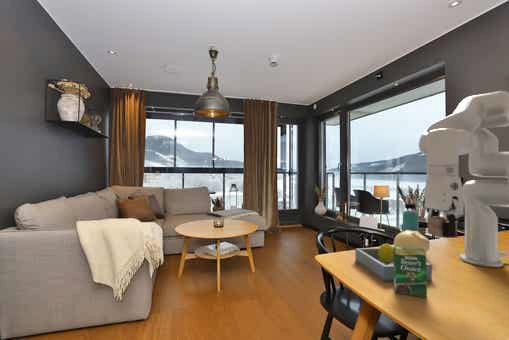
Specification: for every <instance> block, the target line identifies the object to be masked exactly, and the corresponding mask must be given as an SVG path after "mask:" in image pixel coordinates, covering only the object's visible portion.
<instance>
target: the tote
mask: <svg viewBox="0 0 509 340" xmlns="http://www.w3.org/2000/svg"><path fill="white" fill-rule="evenodd" d="M379 248H380V247H362V248H361V247H359V248H356V247H355V255H354V256H355V259H354V260H355V263H357V264H358V265H360V266H361V267H362V268H364V269H366V271H368V272H369V273H371V274H372V275H373V276H374V277H376V278H377V279H379V280H380V281H381V282H383V283H394V261H393V262H392V263H390V264H388V265H386V264H385V263H383V262H382V261H381V260H380V258H379V255H378V251H379ZM432 271H433V264H431V263H429V262H427V261H426V275H427V281H432V279H433V272H432Z"/></svg>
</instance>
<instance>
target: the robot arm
mask: <svg viewBox="0 0 509 340" xmlns="http://www.w3.org/2000/svg"><path fill="white" fill-rule="evenodd" d="M501 127H509V92H508V91H505V90H498V91H493V92H488V93H482V94H475V95H470V96H468V97H466V98H464V99H463V100H461V102H459V103H458V105H457V107H456V109H455V110H454V111H453V112H452V114H450V115H447V116H445V117H444V118H441V119H439V120H437V121H435V122H434V123H432V124H430V125H429V126H427V127H426V129H425V130H424V131H423V132H422V134H421V136H420V138H419V141H418V148H419V149H418V150H419V151H420V153H422V154H423V155H424V156H426V181H425V189H424V203H423V207H424V208H425V211H426V212H427V217H428V216H441V213H442V216H444V221H445V222H443V236H444V237H443V238H446V237H455V236H456V223H457V224H458V220H460V218H462V216H463V215H464V252H463V253H461V254H460V255H459V259H460V260H462V261H464V262H466V263H468V264H472V265H476V266H481V267H486V268H501V267H503V266H504V262H503V260H500V259H501V258H508V257H509V253H508V252H506V251H500V250H498V242H499V241H498V239H499V238H498V234H499V233H498V232H499V231H498V230H499V228H498V227H499V226H498V223H499V219H498V216H497V214H496V212H495V211H494V210H493V209H492V208H491V207H502V208H509V151H499V142H500V141H499V139H498V137H497V135H495V134H494V133H493V132H492V131H490V130H488V129H489V128H490V129H491V128H501ZM462 155H463V156H464V155H468V172H469V173H470V175H471V176H474V177H481V178H484V177H485V178H505V179H507V180H491V179H490V180H489V179H473V180H469V181H466V182H464V183H463V184H462V179H461V177H460V176H459V175H460V174H459V172H460V171H459V169H460V167H459V162H460V161H459V159H460V157H459V156H462Z"/></svg>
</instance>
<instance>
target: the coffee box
mask: <svg viewBox="0 0 509 340" xmlns="http://www.w3.org/2000/svg"><path fill="white" fill-rule="evenodd" d="M392 247H393V256H394V282H393V289H394V290H393V291H394V292H395V293H396V294H398V295H406V296H412V297H417V298H418V297H419V298H427V297H428V295H427V294H428V287H427V285H428V284H427V282H428V280H427V275H426V262H427V252H426V251H425V250H424V249H417V248H415V249H414V248H402V247H394V246H392Z"/></svg>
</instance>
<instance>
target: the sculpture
mask: <svg viewBox="0 0 509 340" xmlns="http://www.w3.org/2000/svg"><path fill="white" fill-rule="evenodd" d="M430 244H431V242H430V240H429V239H428V238H427V237H426V236H424V235H423V234H421V232H420V231H411V230H410V231H409V230H406V231H404V232H403V231H401V232H399V233H398V234H397V235H396V236H395V237H394V239H393V247H402V248H414V249H415V248H417V249H424V250H425V251H426V253H427V252H428V251H429V250H430Z"/></svg>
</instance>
